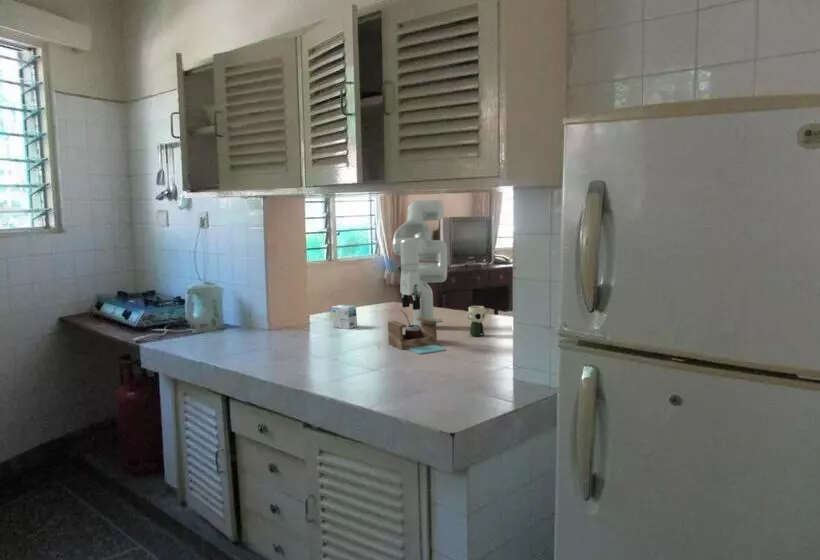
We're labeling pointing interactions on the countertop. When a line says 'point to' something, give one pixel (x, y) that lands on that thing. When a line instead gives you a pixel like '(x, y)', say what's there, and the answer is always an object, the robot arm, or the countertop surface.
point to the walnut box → (401, 343)
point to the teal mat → (427, 349)
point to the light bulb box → (344, 316)
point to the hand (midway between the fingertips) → (411, 308)
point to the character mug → (476, 319)
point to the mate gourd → (412, 330)
